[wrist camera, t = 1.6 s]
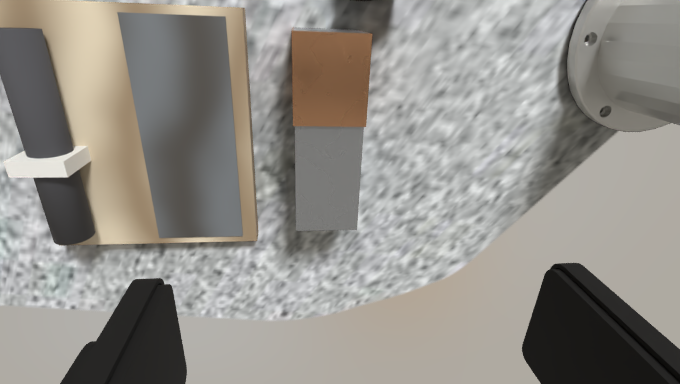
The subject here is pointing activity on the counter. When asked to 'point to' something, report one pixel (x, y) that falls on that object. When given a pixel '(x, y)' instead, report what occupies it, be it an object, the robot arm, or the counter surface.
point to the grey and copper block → (329, 124)
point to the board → (154, 115)
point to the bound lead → (44, 135)
